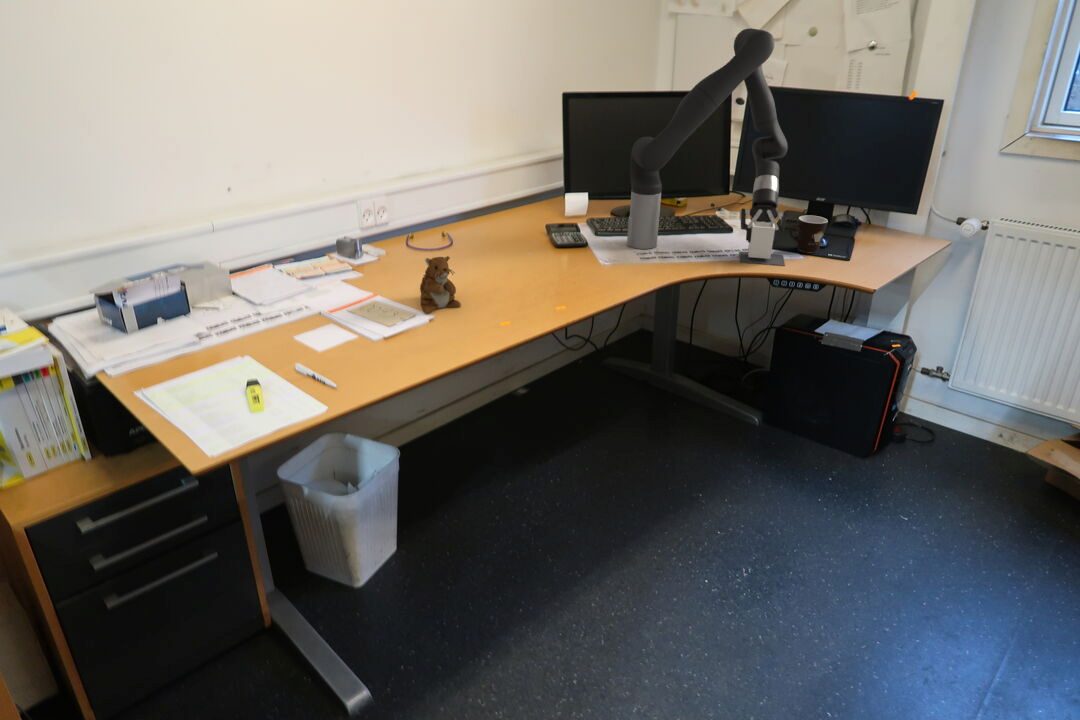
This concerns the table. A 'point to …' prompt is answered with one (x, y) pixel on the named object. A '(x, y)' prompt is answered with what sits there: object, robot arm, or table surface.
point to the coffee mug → (810, 232)
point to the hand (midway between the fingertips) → (761, 242)
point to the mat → (762, 259)
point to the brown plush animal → (437, 286)
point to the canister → (761, 240)
